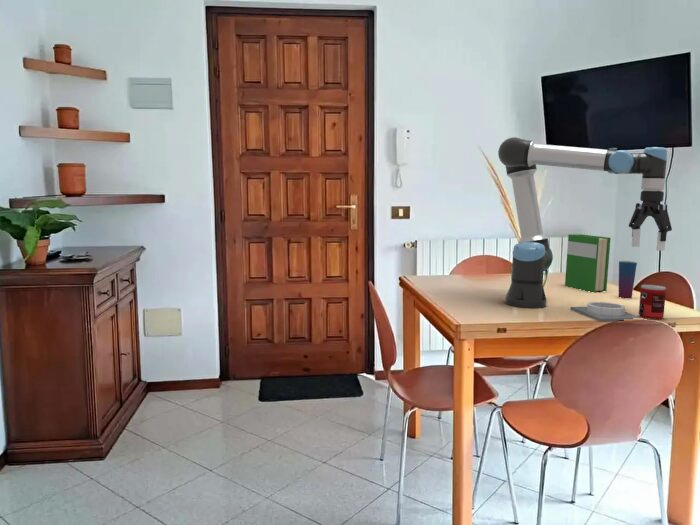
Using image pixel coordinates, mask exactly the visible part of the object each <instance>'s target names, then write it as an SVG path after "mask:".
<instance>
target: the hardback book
mask: <svg viewBox="0 0 700 525" xmlns="http://www.w3.org/2000/svg"><path fill="white" fill-rule="evenodd" d="M610 250H611V237H607V236H599V235H591V234H590V235H589V234H580V233H579V234H577V233H576V234H573V233H572V234H571V233H570V234H568V236H567V250H566V263H565V264H566V266H565V278H564V279H565V280H564V287H566V286H568V287H567V288H570V287H572V288H571V289H575V288H576V289H575V290H579V289H581V290H580V291H583V290H585V291H584V292H588V291H590V292H589V293H592V292H595V293H596V292H602V291H606V292H607V290H608V289H607V288H608V287H607V286H608V274H609V261H610Z"/></svg>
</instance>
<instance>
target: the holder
mask: <svg viewBox="0 0 700 525" xmlns="http://www.w3.org/2000/svg"><path fill="white" fill-rule="evenodd" d="M569 309H570V310H571V311H574V312H576V313H579V314H581V315H583V316H586V317H589V318H591V319H594V320H596V321H598V322H617V321H616V320H624V319H633V318H643V317H640V316H639V315H636V314H633V313H630V312H628V311H626V305H622V304H620V303H615V302H614V303H613V302H606V301H591V302H587V305H586V306H570V308H569Z"/></svg>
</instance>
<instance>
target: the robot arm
mask: <svg viewBox="0 0 700 525" xmlns="http://www.w3.org/2000/svg"><path fill="white" fill-rule="evenodd" d="M497 153H498V154H497V155H498V159H499V161H500V162H501V163H502V164H503V165H504V166H505V171H506V176H507V177H508V178H510V179H511V183H512V188H513V196H514V202H515V209H516V214H517V219H518V226H519V233H520V238H519V240H518V242H517V243H516V244H514V246H513V248H512V262H511V263H512V265H511V266H512V267H511V281H510V282H511V283H510V285H509V289H508V291H507V293H506V295H505V304H506V305H509V306H513V307H517V308H518V307H520V308H528V309H529V308H530V309H532V308H533V309H537V308H538V309H539V308H544V307H545V308H546V307H547V302H548V300H547V297H546V293H545V289H544V288H545V287H544V272H546V271H547V270H548V269H549V268H550V267H551V266H552V263H553V259H554V254H553V251H552V249H551V248H550V242H549V237H547V236H546V235H545V234H544V232H543V230H544V229H543V224H542V219H541V213H540V212H541V211H540V206H539V201H538V194H537V188H536V181H535V176H534V174H536V172H537V171H538V170H537V165H539V166H550V167H557V168H571V169H581V170H591V171H601V172H608V174H614V175H619V174H620V175H621V174H622V175H629V174H631V175H632V174H633V175H635V174H638V175H642V178H641V183H640V184H641V186H640V189H641V190H642V191H640V196H639V197H640V201H641V202H636V203H635V208H634V211H633V214H632V216H631V218H630V220H629V223H628V227H629V228H631V230H632V232H631V237H632V238H631V239H632V240H631V247H633V248H634V247H636V248H639V247H640V242H641V232H642V231H641V226H642V225H643V224H644V222H645V220H646V219H647V218H648V217H652V219H653V220H654V222H655V224H656V226H657V228H658V231H657V238H656V240H657V241H656V247H655V248H656V249H655V250H656V251H665V247H666V241H667V234H668V233H669V232H671V231H672V230H673V228H672V224H671V220H670V216H669V213H668V204H665V203H664V204H662V203H661V202H663V201H664V194H665V192H664V191H663V190H665V183H666V172H667V162H668V161H667V160H668V150H667V148H665V147H663V146H662V147H660V146H659V147H658V146H651V147H650V146H649V147H645V148H644V149H643V152H641V153H640V152H637V153H636V152H634V153H633V152H630V151H627V150H623V149H619V150H615V149H603V148H593V147H592V148H591V147H580V146H579V147H577V146H567V145H557V144H556V145H554V144H546V143H545V144H542V143H536V141H535V140H528V139H524V138H521V137H516V136H515V137H514V136H513V137H509V138H507V139H505V140H504V141H502V142H501V144H500V145H499V147H498V151H497Z"/></svg>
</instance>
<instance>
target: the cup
mask: <svg viewBox="0 0 700 525" xmlns="http://www.w3.org/2000/svg"><path fill="white" fill-rule="evenodd" d="M637 264H638V262H636V261H631V260H630V261H629V260H619V261H618V298H619V297H621V298H622V299H625V298H631V299H632V298H633V292H634V286H635V280H636V279H635V277H636V272H637Z"/></svg>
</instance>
